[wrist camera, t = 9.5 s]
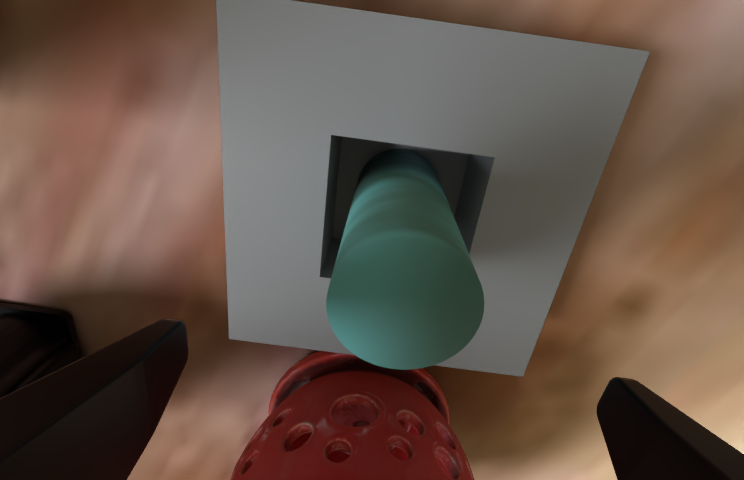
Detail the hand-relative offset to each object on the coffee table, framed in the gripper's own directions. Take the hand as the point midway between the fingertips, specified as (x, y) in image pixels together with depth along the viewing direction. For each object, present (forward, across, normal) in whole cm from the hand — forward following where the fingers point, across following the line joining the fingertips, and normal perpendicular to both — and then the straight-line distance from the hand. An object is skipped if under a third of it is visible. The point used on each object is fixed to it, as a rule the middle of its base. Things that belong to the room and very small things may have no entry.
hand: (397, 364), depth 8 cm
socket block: (+13, 0, 0) cm, 13 cm away
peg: (+12, 0, 0) cm, 12 cm away
